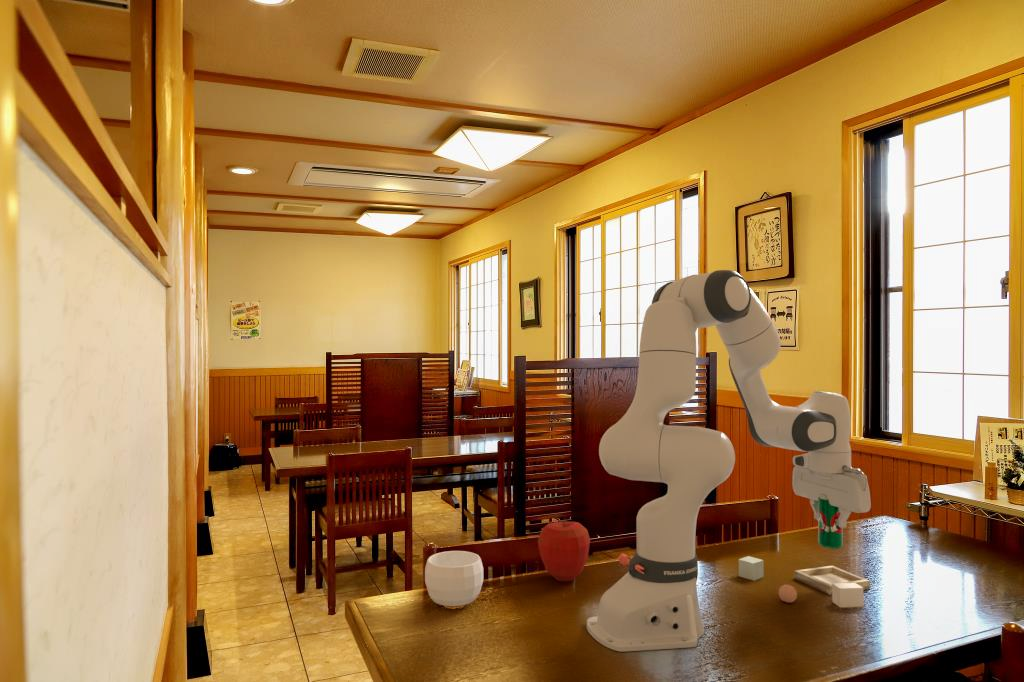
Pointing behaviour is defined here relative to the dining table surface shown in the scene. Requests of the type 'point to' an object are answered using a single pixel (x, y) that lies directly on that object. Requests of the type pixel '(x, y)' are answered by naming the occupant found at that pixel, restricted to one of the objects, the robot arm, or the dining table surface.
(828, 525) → the soda can
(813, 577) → the tray
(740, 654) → the dining table surface
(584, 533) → the apple
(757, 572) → the sage block
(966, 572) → the dining table surface
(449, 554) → the cup
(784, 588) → the terracotta ball
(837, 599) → the cream block
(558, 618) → the dining table surface
